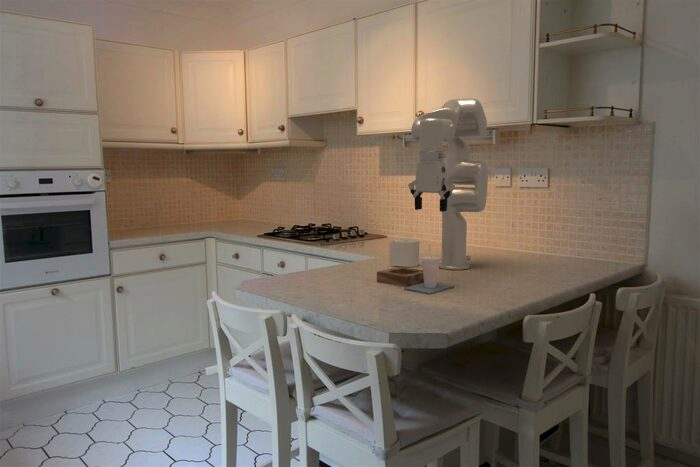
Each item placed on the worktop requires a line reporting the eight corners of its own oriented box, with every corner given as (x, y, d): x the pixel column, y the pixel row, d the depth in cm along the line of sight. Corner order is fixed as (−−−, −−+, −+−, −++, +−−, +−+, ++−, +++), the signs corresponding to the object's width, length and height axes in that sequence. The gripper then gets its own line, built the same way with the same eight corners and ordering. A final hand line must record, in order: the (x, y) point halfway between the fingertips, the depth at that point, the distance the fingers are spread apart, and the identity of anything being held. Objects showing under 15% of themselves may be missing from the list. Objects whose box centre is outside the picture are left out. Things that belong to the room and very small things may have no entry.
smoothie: (416, 285, 177) (417, 243, 176) (434, 284, 180) (434, 242, 178) (426, 289, 171) (427, 246, 170) (444, 288, 174) (444, 245, 172)
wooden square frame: (400, 276, 196) (400, 266, 195) (429, 281, 187) (429, 271, 186) (376, 281, 186) (376, 271, 186) (406, 287, 177) (406, 276, 177)
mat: (429, 283, 184) (429, 281, 184) (454, 287, 177) (454, 285, 177) (403, 289, 174) (404, 287, 174) (429, 294, 167) (429, 292, 167)
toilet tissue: (422, 263, 222) (422, 239, 220) (413, 268, 211) (413, 243, 210) (398, 261, 226) (398, 238, 225) (387, 266, 215) (387, 241, 214)
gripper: (460, 157, 170) (459, 211, 173) (416, 157, 182) (415, 207, 184) (447, 157, 165) (446, 213, 167) (402, 157, 176) (402, 209, 179)
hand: (430, 210), depth 176 cm, fingers open, 9 cm apart
